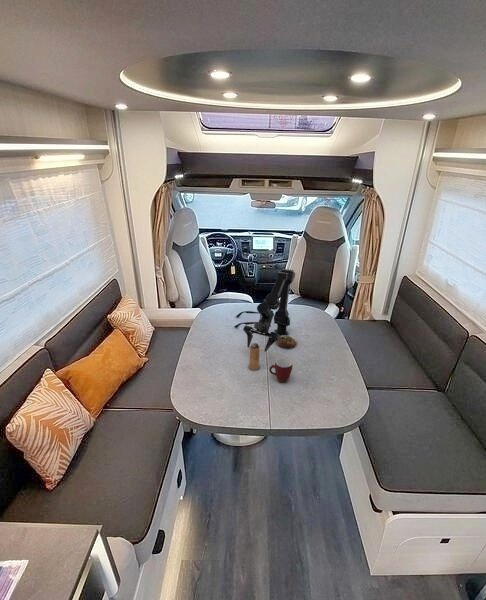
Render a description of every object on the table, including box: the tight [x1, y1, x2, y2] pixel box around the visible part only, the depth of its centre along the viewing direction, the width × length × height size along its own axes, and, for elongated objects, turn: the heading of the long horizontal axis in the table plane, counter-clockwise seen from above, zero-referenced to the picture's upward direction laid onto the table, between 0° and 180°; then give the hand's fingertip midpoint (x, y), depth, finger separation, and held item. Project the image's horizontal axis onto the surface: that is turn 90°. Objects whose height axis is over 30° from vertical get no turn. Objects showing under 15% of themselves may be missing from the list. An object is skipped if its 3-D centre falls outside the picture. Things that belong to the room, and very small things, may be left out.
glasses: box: [234, 310, 261, 329], centre depth 200 cm, size 17×18×5 cm
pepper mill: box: [248, 342, 261, 371], centre depth 154 cm, size 5×5×13 cm
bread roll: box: [276, 335, 297, 349], centre depth 178 cm, size 11×11×5 cm
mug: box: [268, 357, 293, 383], centre depth 146 cm, size 10×8×10 cm
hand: (256, 349), depth 155 cm, fingers open, 9 cm apart
